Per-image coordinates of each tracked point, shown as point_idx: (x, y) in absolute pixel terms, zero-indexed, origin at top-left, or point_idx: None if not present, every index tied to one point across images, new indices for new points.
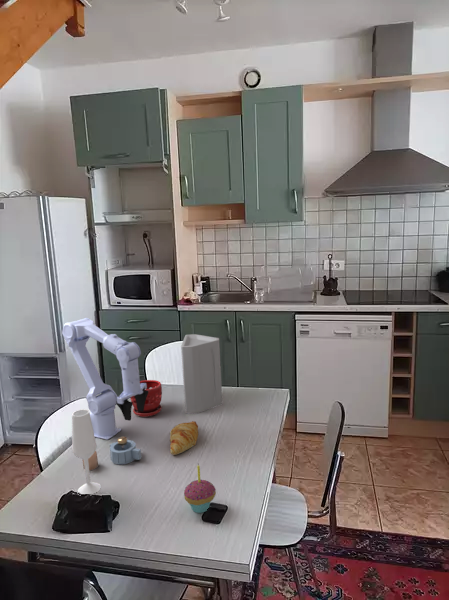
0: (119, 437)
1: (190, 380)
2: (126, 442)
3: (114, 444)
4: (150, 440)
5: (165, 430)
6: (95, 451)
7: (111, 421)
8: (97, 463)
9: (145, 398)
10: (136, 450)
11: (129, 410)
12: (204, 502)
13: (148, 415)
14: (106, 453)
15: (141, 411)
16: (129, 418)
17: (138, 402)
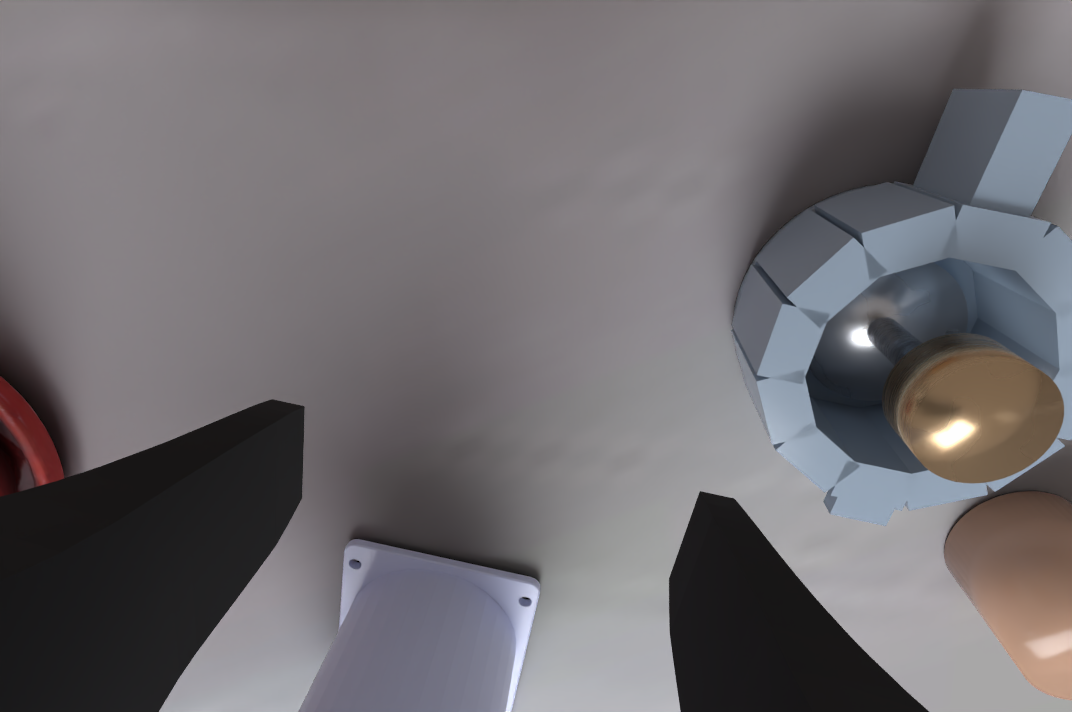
0: (940, 473)
1: None
2: (978, 340)
3: (878, 482)
4: (470, 177)
5: (208, 87)
6: (1061, 610)
7: (422, 688)
8: (1043, 509)
9: (3, 518)
10: (1053, 142)
11: (878, 681)
12: None
13: (21, 401)
14: (776, 506)
15: (9, 490)
16: (758, 529)
17: (190, 607)
